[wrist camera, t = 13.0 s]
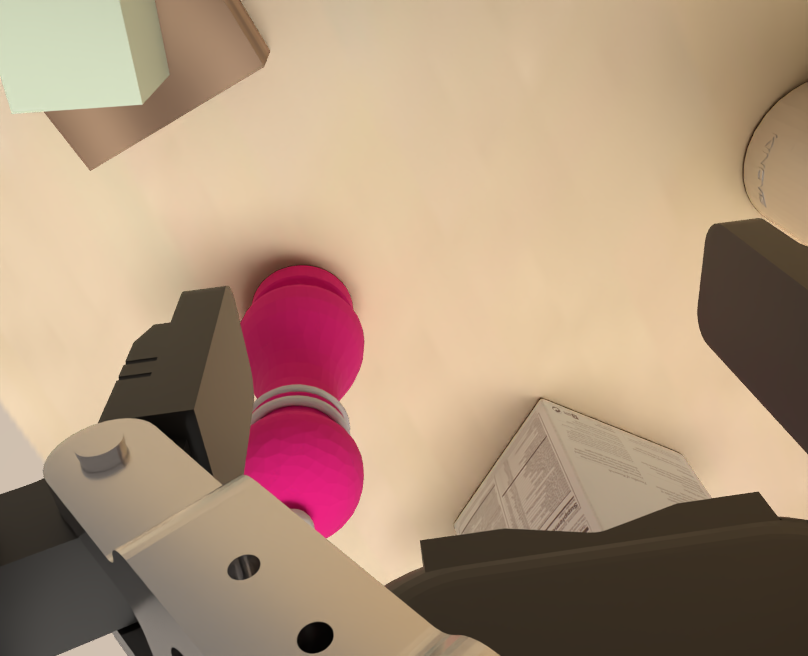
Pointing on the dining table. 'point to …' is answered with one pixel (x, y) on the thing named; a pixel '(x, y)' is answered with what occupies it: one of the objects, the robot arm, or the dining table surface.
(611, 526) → the supplement box
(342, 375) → the pepper mill
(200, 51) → the walnut box
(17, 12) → the green block
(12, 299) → the dining table surface
